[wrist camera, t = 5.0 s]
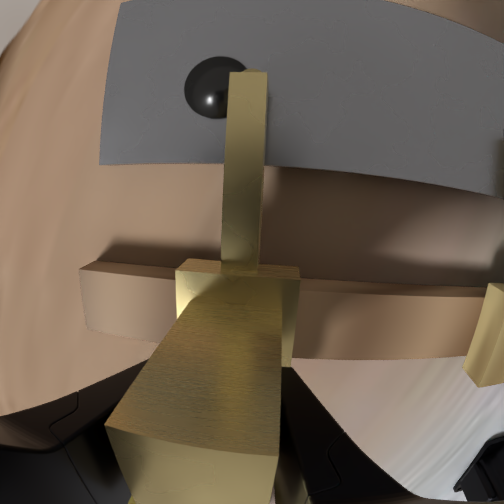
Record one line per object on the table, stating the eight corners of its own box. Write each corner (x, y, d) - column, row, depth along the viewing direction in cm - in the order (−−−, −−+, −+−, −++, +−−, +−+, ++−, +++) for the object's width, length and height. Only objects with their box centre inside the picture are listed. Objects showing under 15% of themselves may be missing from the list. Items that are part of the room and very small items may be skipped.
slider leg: (308, 75, 10) (347, -75, 2) (285, 373, 13) (280, 541, 5) (200, 73, 10) (85, -48, 2) (194, 364, 13) (126, 514, 5)
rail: (569, 158, 10) (605, 160, 7) (535, 343, 13) (563, 367, 10) (98, 94, 12) (56, 78, 9) (103, 328, 15) (70, 360, 11)
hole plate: (555, 83, 9) (566, 81, 8) (558, 213, 11) (570, 216, 10) (129, 11, 11) (119, 1, 10) (110, 165, 13) (98, 165, 12)
